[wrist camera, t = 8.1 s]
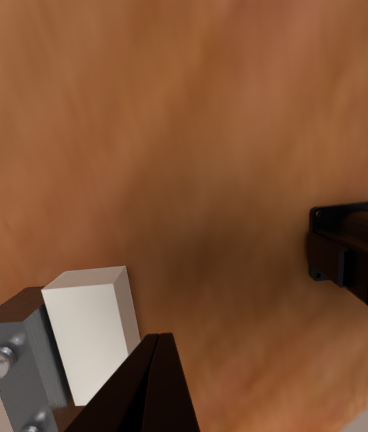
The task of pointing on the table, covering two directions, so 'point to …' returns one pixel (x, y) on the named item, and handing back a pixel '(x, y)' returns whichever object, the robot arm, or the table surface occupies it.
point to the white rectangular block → (92, 325)
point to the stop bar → (32, 367)
